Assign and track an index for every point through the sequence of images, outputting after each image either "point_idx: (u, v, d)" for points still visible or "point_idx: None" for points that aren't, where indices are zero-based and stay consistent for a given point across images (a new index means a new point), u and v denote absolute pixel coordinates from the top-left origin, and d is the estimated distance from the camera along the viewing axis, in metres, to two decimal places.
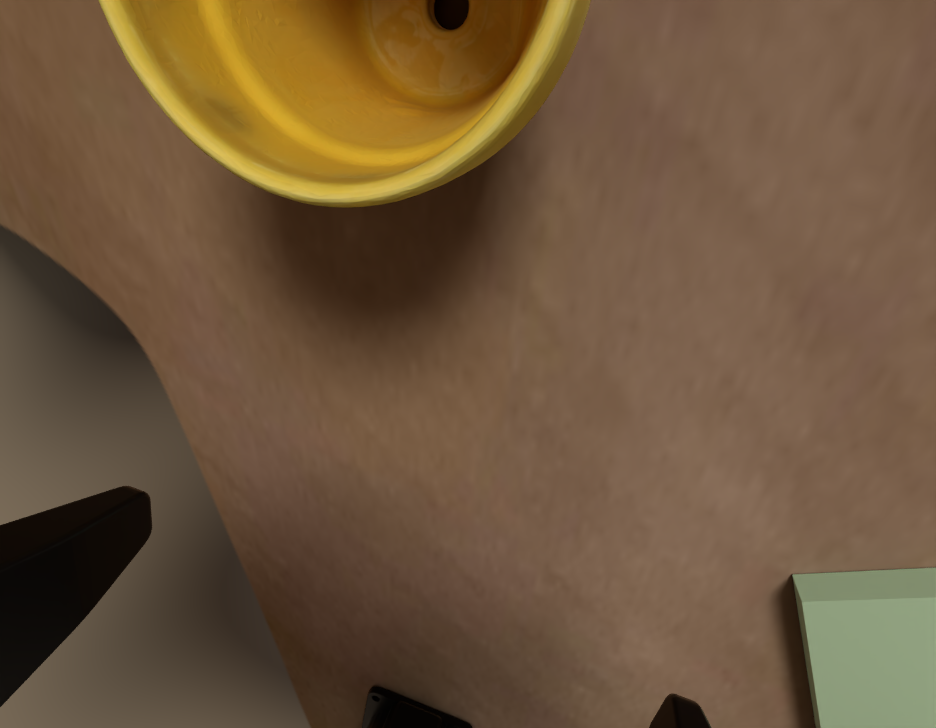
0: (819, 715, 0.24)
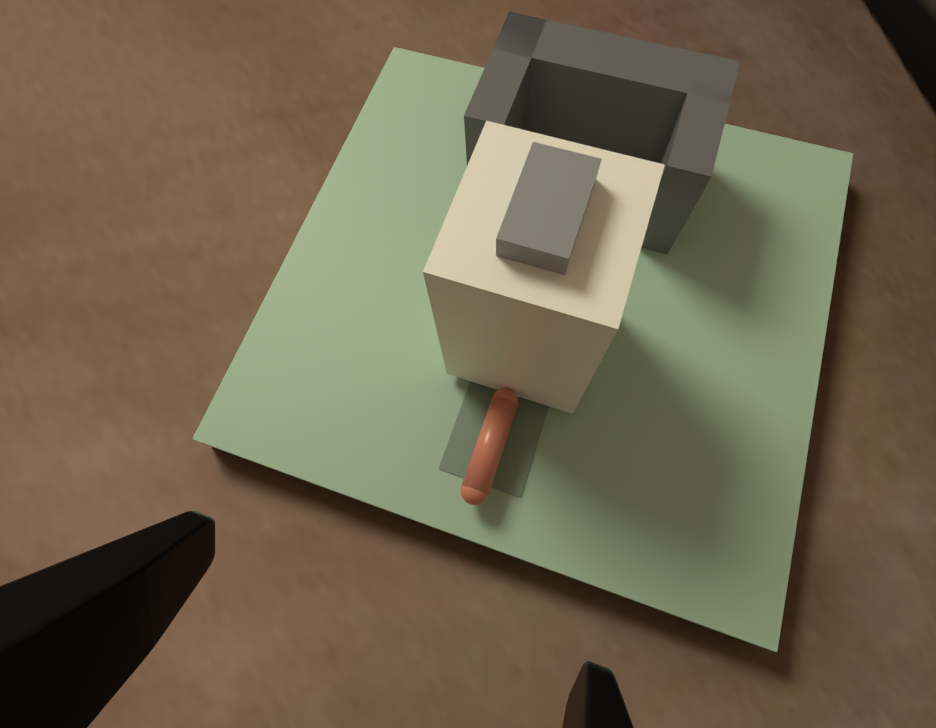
0: (343, 493, 0.21)
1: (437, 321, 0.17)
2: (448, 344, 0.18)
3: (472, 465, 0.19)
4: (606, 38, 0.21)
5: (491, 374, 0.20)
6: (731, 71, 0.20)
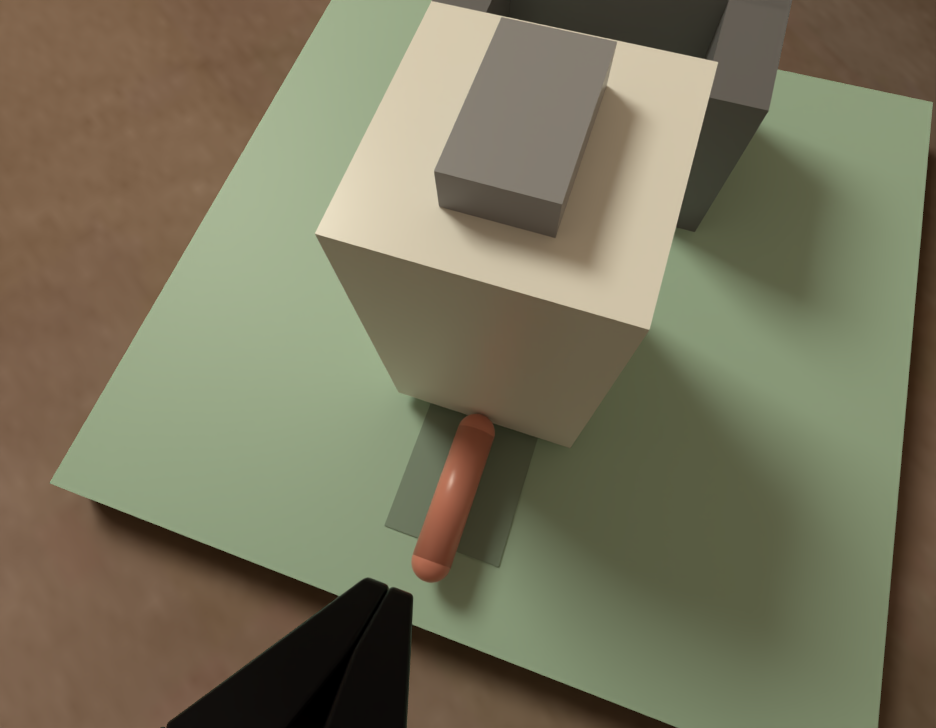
0: (252, 560, 0.15)
1: (364, 319, 0.11)
2: (389, 353, 0.13)
3: (428, 525, 0.14)
4: None
5: (455, 395, 0.14)
6: None
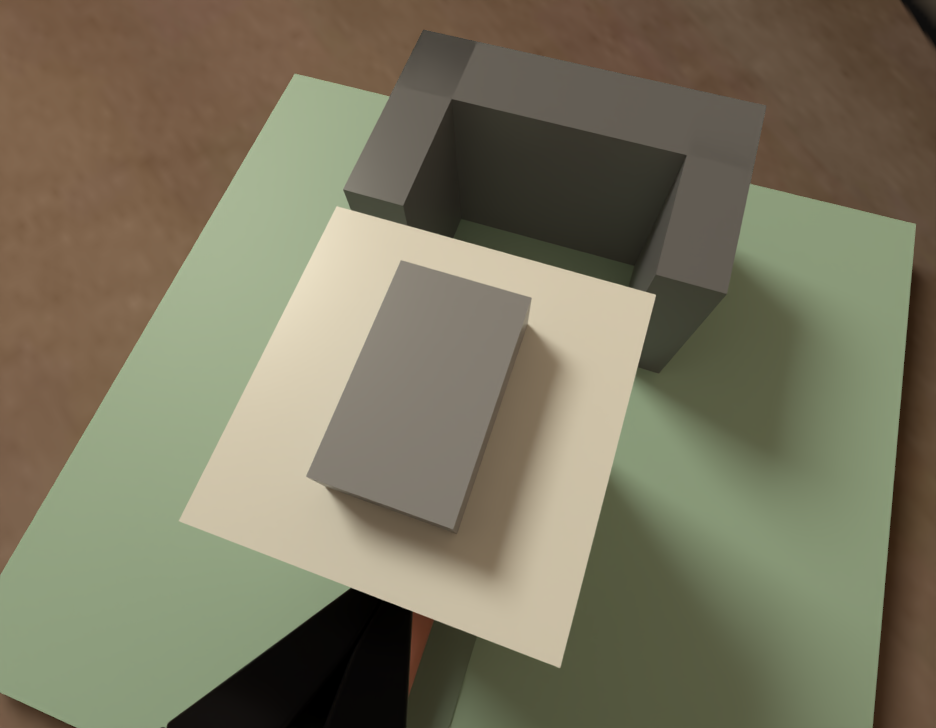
0: None
1: None
2: None
3: None
4: (564, 70, 0.14)
5: None
6: (753, 121, 0.13)
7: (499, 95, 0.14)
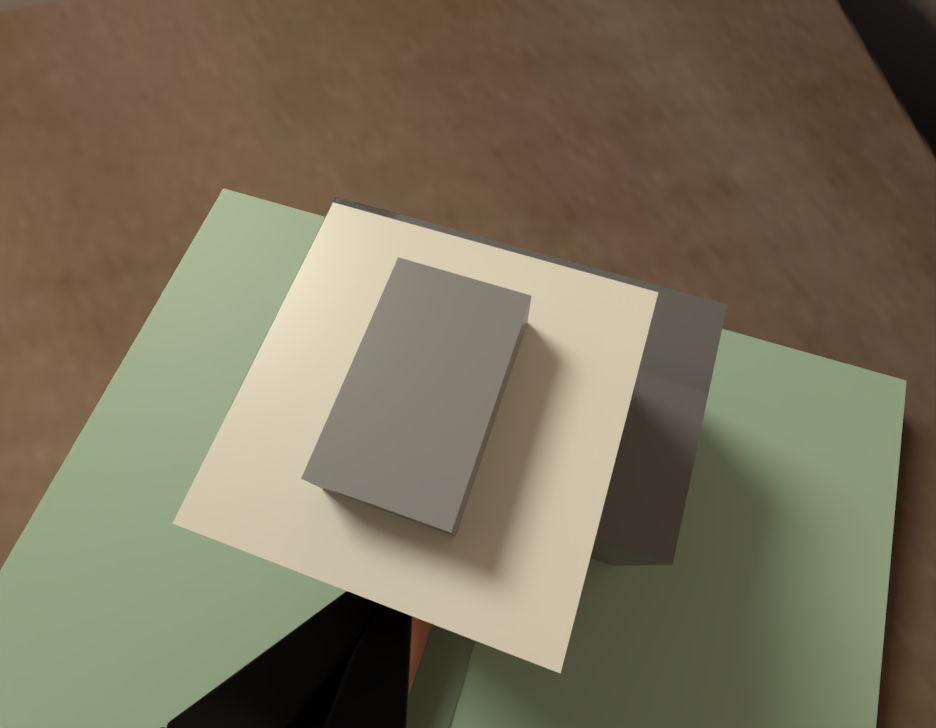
0: None
1: None
2: None
3: None
4: None
5: None
6: (711, 325, 0.11)
7: None
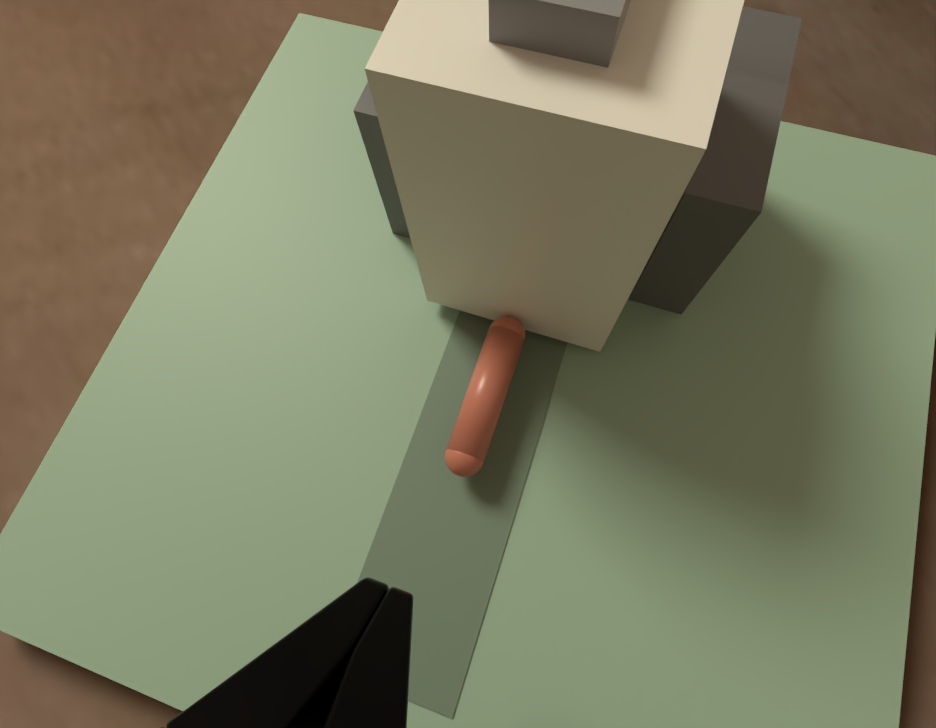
0: (177, 707, 0.13)
1: (402, 193, 0.11)
2: (424, 241, 0.13)
3: (461, 420, 0.14)
4: None
5: (487, 293, 0.14)
6: (788, 34, 0.12)
7: None
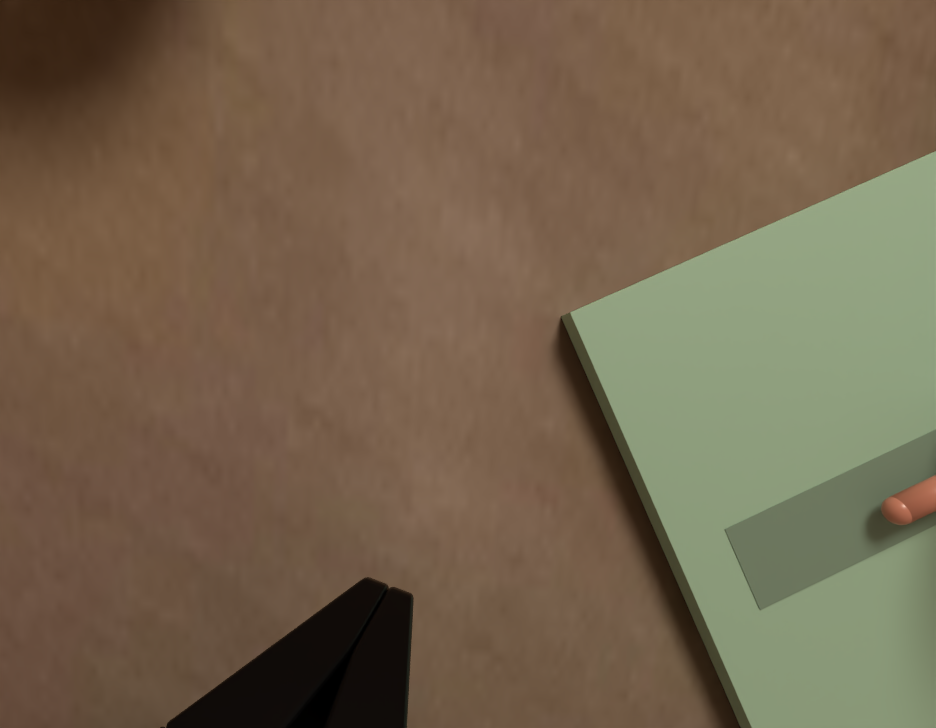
0: (642, 475, 0.20)
1: None
2: None
3: (922, 495, 0.19)
4: None
5: None
6: None
7: None
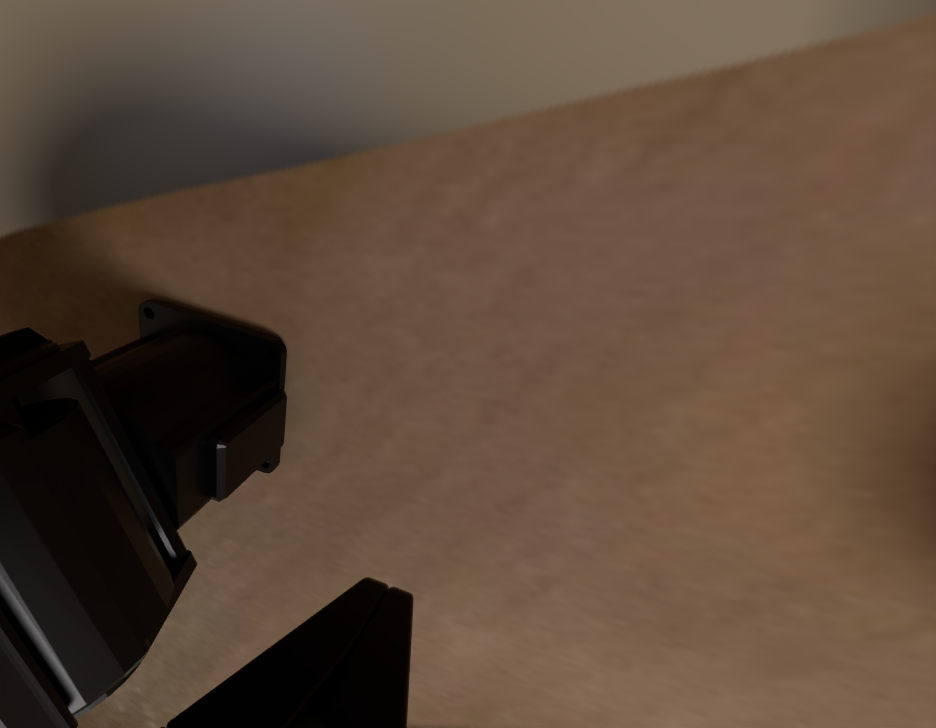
0: None
1: None
2: None
3: None
4: None
5: None
6: None
7: None
